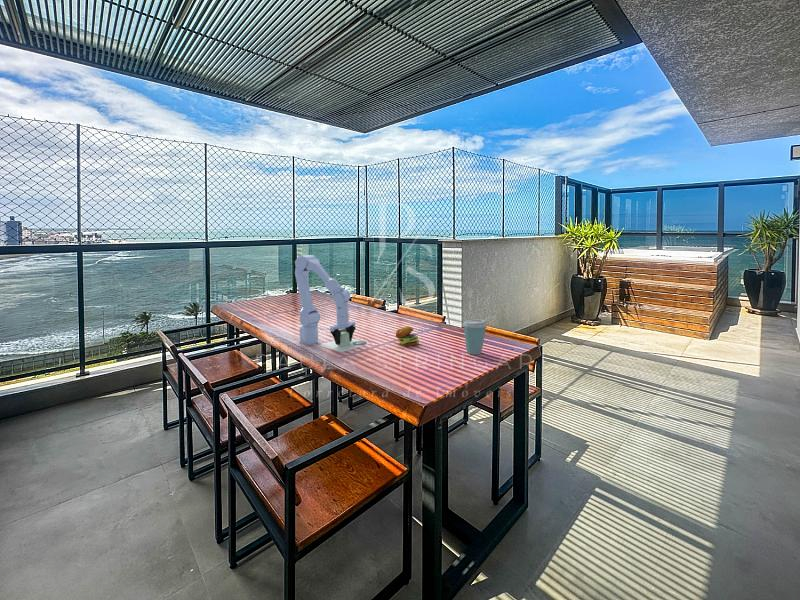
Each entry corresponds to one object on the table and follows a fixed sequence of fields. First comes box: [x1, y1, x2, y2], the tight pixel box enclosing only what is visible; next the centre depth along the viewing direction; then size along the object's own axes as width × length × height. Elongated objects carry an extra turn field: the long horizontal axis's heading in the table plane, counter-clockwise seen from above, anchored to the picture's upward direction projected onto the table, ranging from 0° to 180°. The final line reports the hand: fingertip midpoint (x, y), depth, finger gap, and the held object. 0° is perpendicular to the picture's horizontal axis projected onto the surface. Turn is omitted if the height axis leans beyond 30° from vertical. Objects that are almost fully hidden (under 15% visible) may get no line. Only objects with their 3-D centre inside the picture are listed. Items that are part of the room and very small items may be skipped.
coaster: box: [353, 340, 368, 346], centre depth 187 cm, size 7×7×1 cm
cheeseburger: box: [395, 325, 420, 347], centre depth 186 cm, size 10×11×10 cm
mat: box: [317, 338, 371, 353], centre depth 186 cm, size 18×19×1 cm
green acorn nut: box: [338, 332, 350, 347], centre depth 184 cm, size 6×6×6 cm
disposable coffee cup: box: [462, 319, 487, 355], centre depth 170 cm, size 11×11×15 cm
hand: (343, 342), depth 184 cm, fingers open, 7 cm apart
